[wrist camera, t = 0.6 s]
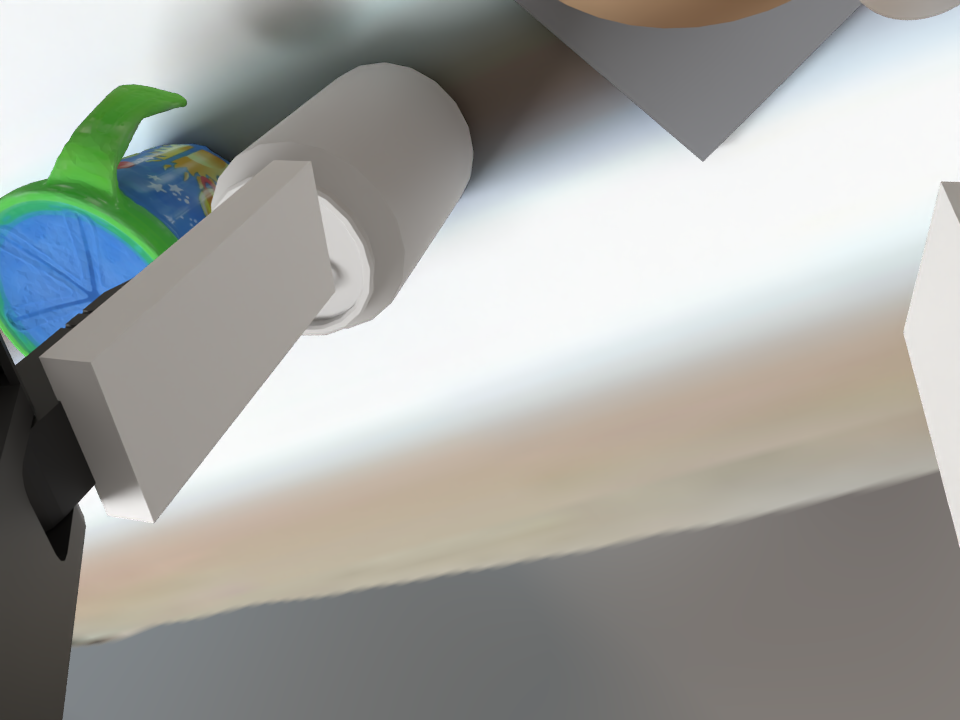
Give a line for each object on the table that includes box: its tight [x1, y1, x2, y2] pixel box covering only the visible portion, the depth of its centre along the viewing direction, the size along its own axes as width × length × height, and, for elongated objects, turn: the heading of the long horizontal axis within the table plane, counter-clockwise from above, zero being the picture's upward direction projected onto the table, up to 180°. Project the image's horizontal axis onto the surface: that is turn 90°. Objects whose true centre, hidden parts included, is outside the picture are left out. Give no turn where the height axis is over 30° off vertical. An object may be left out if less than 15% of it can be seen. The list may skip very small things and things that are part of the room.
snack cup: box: [0, 84, 230, 357], centre depth 40 cm, size 16×10×10 cm
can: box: [211, 62, 474, 336], centre depth 34 cm, size 8×8×12 cm
